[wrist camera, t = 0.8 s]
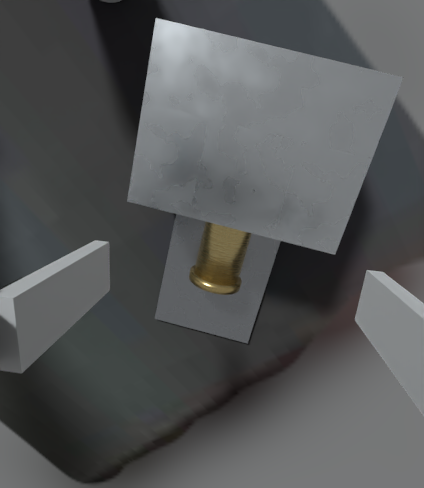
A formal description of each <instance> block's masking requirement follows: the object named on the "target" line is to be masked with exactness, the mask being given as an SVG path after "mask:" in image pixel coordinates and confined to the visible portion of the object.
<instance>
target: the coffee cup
mask: <svg viewBox="0 0 424 488" xmlns="http://www.w3.org/2000/svg"><path fill="white" fill-rule="evenodd" d="M101 1H103V2H107V3H115V2H119V1H121V0H101Z"/></svg>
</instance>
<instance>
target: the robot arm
mask: <svg viewBox="0 0 424 488" xmlns="http://www.w3.org/2000/svg"><path fill="white" fill-rule="evenodd" d="M109 290H110V268H109V242H104V241H93V242H91V243H89V244H87V245H85V246H84V247H82V248H80V249H78V250H76V251H74V252H72V253H70V254H68V255H66V256H64V257H62V258H60V259H58V260H57V261H55V262H53V263H51V264H49V265H47V266H45V267H43V268H41V269H39V270H37V271H35V272H33V273H32V274H30V275H28V276H26V277H23V278H20V279H18V280H16V281H14V282H12V283H10V285H6V286H4V287H2V288H1V289H0V370H1V371H8V372H15V373H23V372H24V371H25V370H26V369H27V368H28V367H29V366H30V365H31V364H32V363H34V362H35V361H36V360H37V359H38V358H39V357H40V356H41V355H42V354H43V353H44V352H45V351H46V350H47V349H48V348H49V347H50V346H51V345H52V344H54V343H55V342H56V341H57V340H58V339H59V338H60V337H61V336H62V335H63V334H64V333H65V332H66V331H67V330H68V329H69V328H70V327H71V326H72V325H74V324H75V323H76V322H77V321H78V320H79V319H80V318H81V317H82V316H83V315H84V314H85V313H86V312H87V311H88V310H89V309H90V308H91V307H93V306H94V305H95V304H96V303H97V302H98V301H99V300H100V299H101V298H102V297H103V296H104V295H105V294H106V293H107V292H108V291H109ZM355 321H356V323H357V324H358V325H359V326H360V328H361V330H362V331H363V332H364V334H365V335H366V336H367V338H368V339H369V340H370V342H371V343H372V345H373V346H374V348H375V349H376V350H377V352H378V353H379V355H380V356H381V358H382V359H383V360H384V362H385V363H386V364H387V366H388V367H389V369H390V370H391V371H392V373H393V374H394V376H395V377H396V378H397V380H398V381H399V382H400V384H401V385H402V387H403V388H404V390H405V391H406V392H407V394H408V395H409V397H410V398H411V399H412V401H413V402H414V403H415V405H416V406H417V407H418V409H419V411H420V412H421V413H422V415H423V416H424V303H422V302H421V301H420V300H418V299H417V298H416V297H415V296H413V295H412V294H411V293H409V292H408V291H407V290H405V289H404V288H403V287H402V286H400V285H399V284H397V282H395V281H394V280H393V279H391V278H390V277H389V276H387V275H386V274H385V273H384V272H378V271H369V270H367V271H366V275H365V280H364V284H363V288H362V292H361V296H360V300H359V304H358V309H357V312H356V316H355Z"/></svg>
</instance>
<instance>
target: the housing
mask: <svg viewBox="0 0 424 488" xmlns="http://www.w3.org/2000/svg"><path fill="white" fill-rule="evenodd" d="M402 80H403V77H400V76H396V75H392V74H388V73H384V72H379V71H375V70H371V69H367V68H363V67H359V66H354V65H350V64H346V63H342V62H338V61H334V60H329V59H325V58H321V57H317V56H313V55H309V54H304V53H300V52H296V51H292V50H288V49H283V48H279V47H275V46H271V45H267V44H263V43H258V42H254V41H250V40H246V39H242V38H238V37H233V36H229V35H225V34H221V33H217V32H213V31H208V30H204V29H200V28H196V27H192V26H188V25H183V24H179V23H175V22H171V21H167V20H162V19H158V18H156V19H155V25H154V32H153V38H152V45H151V51H150V58H149V64H148V71H147V77H146V84H145V90H144V97H143V103H142V109H141V116H140V122H139V129H138V135H137V142H136V148H135V155H134V161H133V168H132V174H131V180H130V187H129V193H128V200H127V201H128V202H132V203H136V204H140V205H144V206H148V207H151V208H155V209H159V210H163V211H167V212H171V213H175V214H176V218H175V223H174V227H173V232H172V237H171V242H170V247H169V252H168V256H167V261H166V266H165V271H164V276H163V281H162V285H161V290H160V295H159V300H158V305H157V310H156V314H155V319H158V320H161V321H165V322H169V323H173V324H176V325H180V326H184V327H187V328H191V329H195V330H199V331H202V332H206V333H210V334H214V335H217V336H221V337H225V338H228V339H232V340H236V341H240V342H243V343H247V344H248V341H249V338H250V335H251V331H252V328H253V325H254V322H255V319H256V316H257V313H258V310H259V307H260V304H261V300H262V297H263V294H264V291H265V288H266V285H267V282H268V279H269V276H270V273H271V270H272V266H273V263H274V260H275V257H276V254H277V251H278V248H279V245H280V242H281V241H283V242H287V243H291V244H295V245H299V246H303V247H307V248H311V249H314V250H318V251H322V252H326V253H330V254H334V255H335V254H336V251H337V249H338V246H339V243H340V241H341V238H342V236H343V233H344V230H345V228H346V225H347V223H348V220H349V217H350V215H351V212H352V210H353V207H354V204H355V202H356V199H357V197H358V194H359V191H360V189H361V186H362V184H363V181H364V178H365V176H366V173H367V171H368V168H369V166H370V163H371V160H372V158H373V155H374V153H375V150H376V147H377V145H378V142H379V140H380V137H381V134H382V132H383V129H384V127H385V124H386V121H387V119H388V116H389V114H390V111H391V108H392V106H393V103H394V101H395V98H396V96H397V93H398V90H399V88H400V85H401V83H402ZM205 222H210V223H214V224H217V225H221V226H225V227H229V228H233V229H237V230H241V231H245V232H248V233H252V234H251V238H250V241H249V245H248V248H247V252H246V255H245V259H244V262H243V266H242V269H241V272H240V276H239V277H240V278H241V280H242V283H241V286H240V290H239V291H238V292H237V293H235V294H230V295H221V294H215V293H211V292H208V291H205V290H202V289H200V288H198V287H197V286H195V285H194V284H193V283H192V282H191V281H190V280H189V273H190V269H191V267H192V266H194V265H195V264H196V260H197V256H198V252H199V247H200V243H201V239H202V235H203V231H204V227H205Z"/></svg>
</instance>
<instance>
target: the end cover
mask: <svg viewBox="0 0 424 488" xmlns="http://www.w3.org/2000/svg"><path fill="white" fill-rule="evenodd" d="M251 234H252V233H248V232H245V231H241V230H237V229H233V228H229V227H225V226H221V225H217V224H214V223H210V222H205V227H204V231H203V235H202V239H201V243H200V247H199V252H198V256H197V260H196V264H195V265H194V266H192V267H191V269H190V273H189V280H190V281H191V282H192V283H193V284H194V285H195V286H197V287H198V288H200V289H202V290H205V291H208V292H211V293H215V294H221V295H230V294H235V293H237V292H238V291H239V290H240V286H241V283H242V280H241V278H240V277H239V276H240V272H241V269H242V266H243V262H244V259H245V255H246V252H247V248H248V245H249V241H250V238H251Z"/></svg>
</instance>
